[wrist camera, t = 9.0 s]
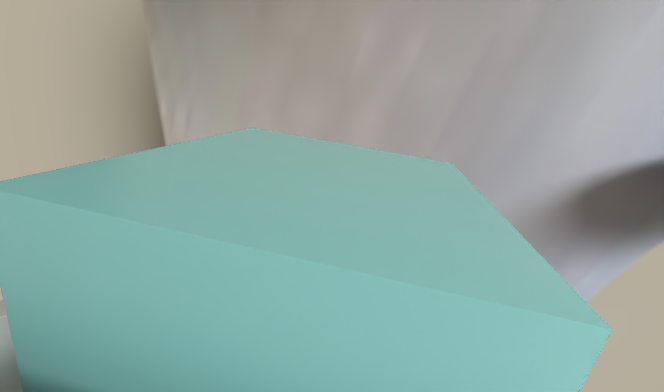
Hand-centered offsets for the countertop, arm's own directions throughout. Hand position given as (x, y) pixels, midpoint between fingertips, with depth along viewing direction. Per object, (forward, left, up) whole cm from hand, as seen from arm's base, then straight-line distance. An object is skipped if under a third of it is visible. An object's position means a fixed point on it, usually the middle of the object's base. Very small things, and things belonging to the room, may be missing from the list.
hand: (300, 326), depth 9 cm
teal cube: (-1, 0, -5) cm, 5 cm away
